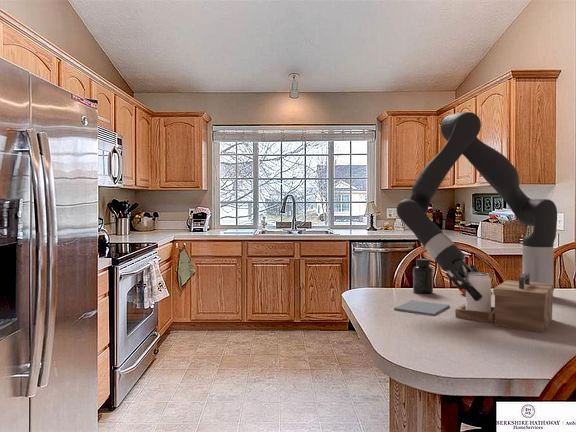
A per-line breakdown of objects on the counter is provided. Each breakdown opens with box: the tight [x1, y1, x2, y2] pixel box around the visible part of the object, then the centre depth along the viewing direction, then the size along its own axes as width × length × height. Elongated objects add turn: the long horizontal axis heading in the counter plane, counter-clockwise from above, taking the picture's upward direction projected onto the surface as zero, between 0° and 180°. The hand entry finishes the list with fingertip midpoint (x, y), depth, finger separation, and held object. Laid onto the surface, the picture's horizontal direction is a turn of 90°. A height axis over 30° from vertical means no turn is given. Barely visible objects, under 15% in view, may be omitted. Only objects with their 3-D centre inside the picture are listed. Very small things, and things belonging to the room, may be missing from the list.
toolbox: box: [454, 273, 555, 334], centre depth 119 cm, size 17×22×13 cm
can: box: [465, 271, 492, 313], centre depth 123 cm, size 6×6×12 cm
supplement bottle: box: [412, 258, 434, 295], centre depth 158 cm, size 7×7×12 cm
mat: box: [393, 300, 451, 317], centre depth 133 cm, size 14×12×1 cm
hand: (484, 297), depth 122 cm, fingers closed on can, 6 cm apart
